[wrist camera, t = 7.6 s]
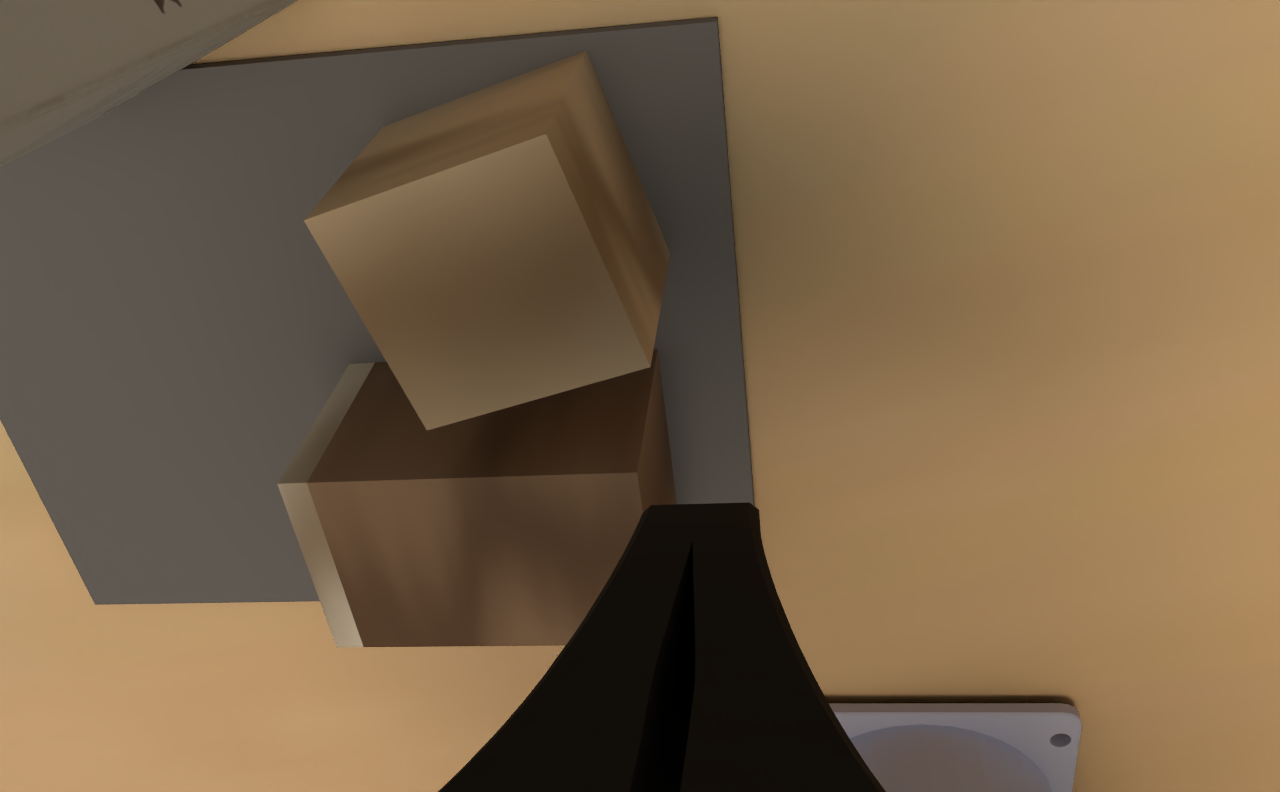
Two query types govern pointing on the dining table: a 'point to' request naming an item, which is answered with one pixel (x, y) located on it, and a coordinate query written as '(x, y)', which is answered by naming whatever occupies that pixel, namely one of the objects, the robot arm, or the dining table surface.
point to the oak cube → (500, 245)
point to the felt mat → (298, 293)
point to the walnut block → (473, 509)
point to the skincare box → (100, 56)
